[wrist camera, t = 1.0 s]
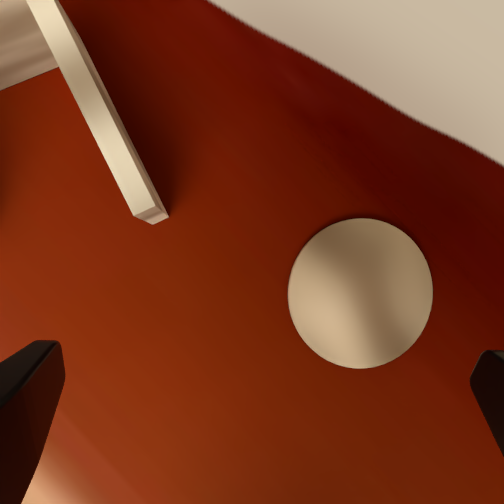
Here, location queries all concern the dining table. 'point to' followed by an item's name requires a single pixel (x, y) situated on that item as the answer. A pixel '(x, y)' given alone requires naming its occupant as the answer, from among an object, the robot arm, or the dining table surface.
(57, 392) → the robot arm
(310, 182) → the dining table surface
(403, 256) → the mat
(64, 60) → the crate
